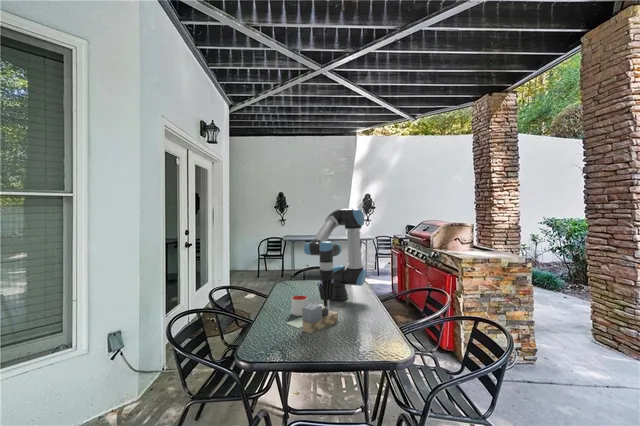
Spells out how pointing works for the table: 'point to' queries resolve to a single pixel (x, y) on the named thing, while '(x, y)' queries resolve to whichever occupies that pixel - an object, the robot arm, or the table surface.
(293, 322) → the mat
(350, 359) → the table surface
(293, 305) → the cup
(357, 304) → the table surface
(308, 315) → the gray cube on plate
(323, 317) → the long wooden block
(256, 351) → the table surface
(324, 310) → the latch
